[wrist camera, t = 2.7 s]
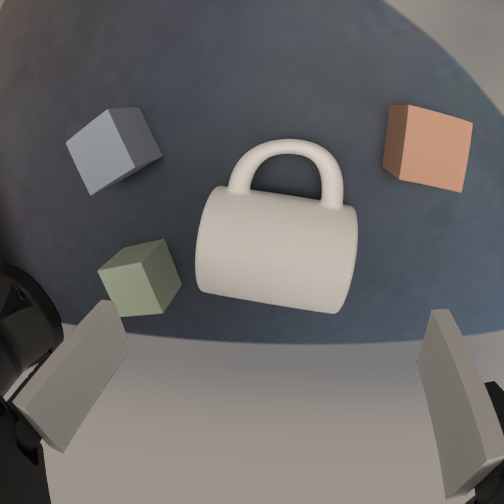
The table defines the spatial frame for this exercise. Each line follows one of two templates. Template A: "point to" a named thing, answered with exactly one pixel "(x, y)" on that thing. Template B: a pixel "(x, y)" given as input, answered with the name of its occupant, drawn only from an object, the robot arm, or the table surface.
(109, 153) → the slate block
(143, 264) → the sage block
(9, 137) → the table surface
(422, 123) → the terracotta block
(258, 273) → the mug
